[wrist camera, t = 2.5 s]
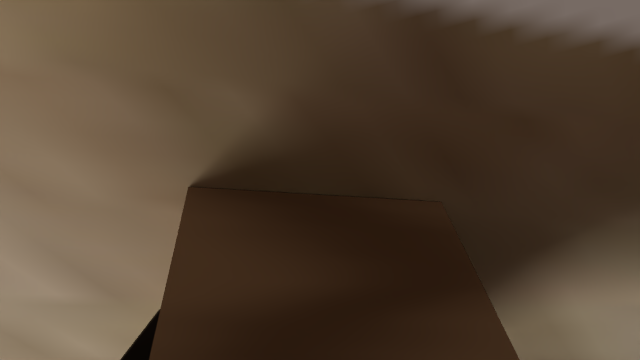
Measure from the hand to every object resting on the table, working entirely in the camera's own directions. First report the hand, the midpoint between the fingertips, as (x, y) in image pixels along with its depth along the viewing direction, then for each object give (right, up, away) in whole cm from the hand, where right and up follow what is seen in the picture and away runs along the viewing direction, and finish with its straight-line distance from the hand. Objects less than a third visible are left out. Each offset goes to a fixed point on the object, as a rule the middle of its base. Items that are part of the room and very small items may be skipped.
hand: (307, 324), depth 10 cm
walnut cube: (0, +1, +1) cm, 1 cm away
